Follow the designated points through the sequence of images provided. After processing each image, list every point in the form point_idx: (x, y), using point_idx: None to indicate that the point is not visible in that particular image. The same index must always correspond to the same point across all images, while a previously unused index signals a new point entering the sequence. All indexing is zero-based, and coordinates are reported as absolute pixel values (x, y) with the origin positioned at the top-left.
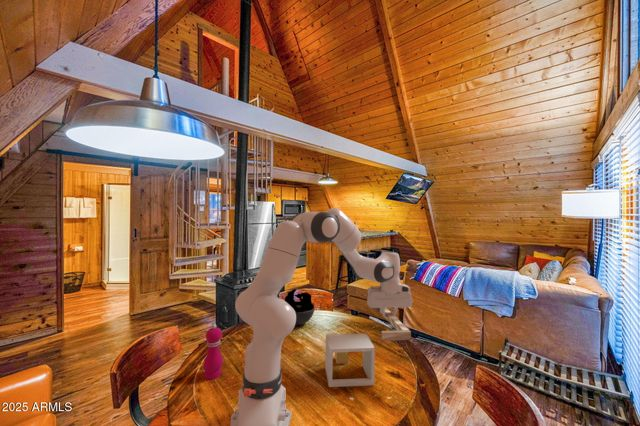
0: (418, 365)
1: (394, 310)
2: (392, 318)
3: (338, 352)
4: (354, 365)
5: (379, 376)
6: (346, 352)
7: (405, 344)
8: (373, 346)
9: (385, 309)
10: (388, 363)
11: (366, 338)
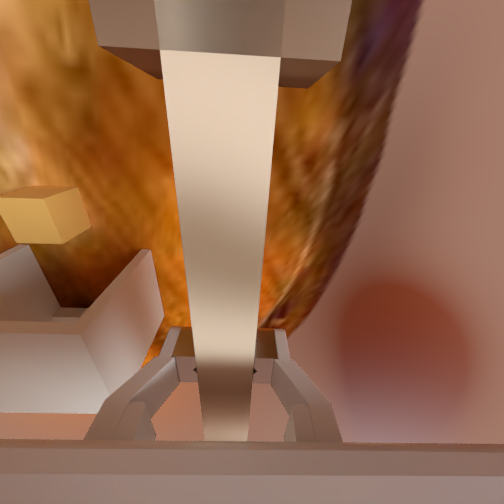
0: (319, 258)
1: (288, 393)
2: (209, 440)
3: (23, 242)
4: (115, 240)
5: (184, 290)
6: (57, 242)
7: (378, 98)
8: None
9: (219, 282)
10: None
11: (84, 370)
